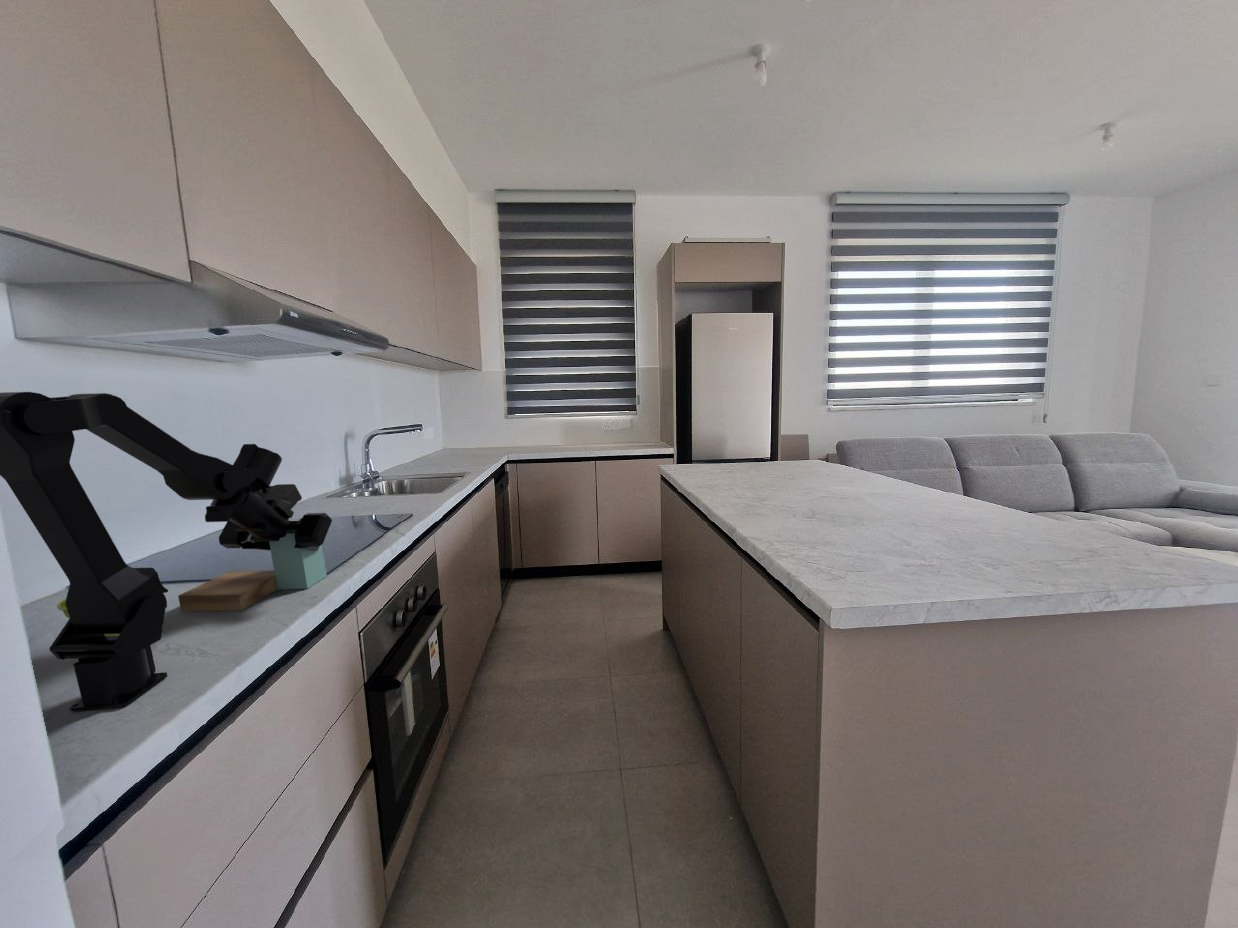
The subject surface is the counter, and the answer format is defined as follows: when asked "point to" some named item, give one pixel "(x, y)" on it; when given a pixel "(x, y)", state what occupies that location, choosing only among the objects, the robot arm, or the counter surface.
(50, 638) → the counter surface
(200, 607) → the walnut block
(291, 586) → the tea tin
